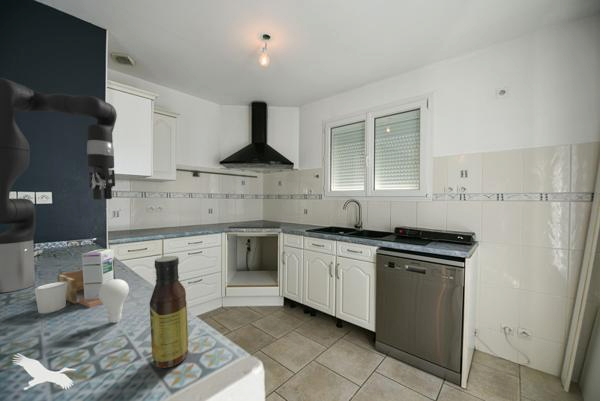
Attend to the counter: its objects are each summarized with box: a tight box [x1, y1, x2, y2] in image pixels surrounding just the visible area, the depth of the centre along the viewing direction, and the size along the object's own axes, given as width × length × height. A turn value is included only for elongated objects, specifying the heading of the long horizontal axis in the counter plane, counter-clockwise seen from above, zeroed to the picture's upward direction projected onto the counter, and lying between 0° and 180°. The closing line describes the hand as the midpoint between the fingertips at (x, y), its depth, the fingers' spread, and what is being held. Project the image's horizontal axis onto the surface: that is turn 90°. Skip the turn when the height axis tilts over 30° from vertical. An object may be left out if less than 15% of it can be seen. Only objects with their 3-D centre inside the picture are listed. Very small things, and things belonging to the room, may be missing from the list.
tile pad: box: [78, 297, 104, 309], centre depth 77 cm, size 8×8×1 cm
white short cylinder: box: [34, 281, 68, 314], centre depth 71 cm, size 7×7×7 cm
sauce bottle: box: [149, 255, 189, 369], centre depth 47 cm, size 6×6×20 cm
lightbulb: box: [99, 278, 130, 324], centre depth 62 cm, size 6×6×11 cm
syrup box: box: [81, 248, 116, 300], centre depth 77 cm, size 6×6×14 cm
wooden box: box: [57, 269, 84, 304], centre depth 82 cm, size 13×10×7 cm
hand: (102, 199), depth 88 cm, fingers open, 8 cm apart
